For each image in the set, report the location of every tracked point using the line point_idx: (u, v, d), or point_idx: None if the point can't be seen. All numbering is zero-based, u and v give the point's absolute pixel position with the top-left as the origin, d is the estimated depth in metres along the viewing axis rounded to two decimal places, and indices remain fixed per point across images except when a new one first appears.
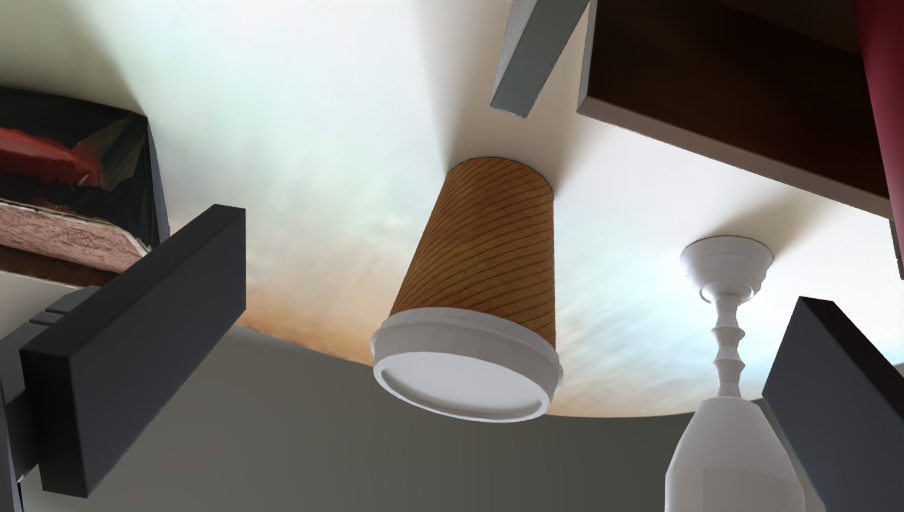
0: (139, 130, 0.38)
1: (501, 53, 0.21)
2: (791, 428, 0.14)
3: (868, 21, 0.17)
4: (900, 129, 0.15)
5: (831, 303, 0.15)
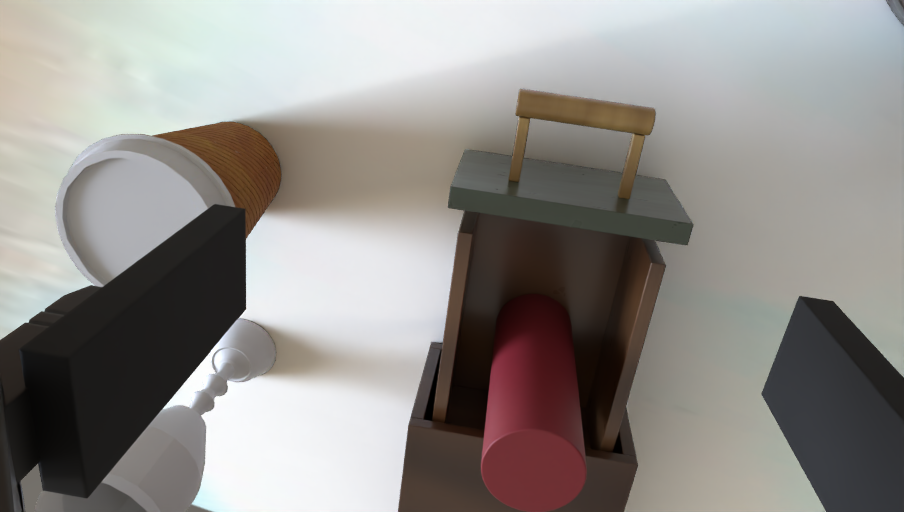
0: None
1: (458, 174, 0.36)
2: (791, 428, 0.14)
3: (524, 328, 0.39)
4: (529, 366, 0.35)
5: (831, 303, 0.15)
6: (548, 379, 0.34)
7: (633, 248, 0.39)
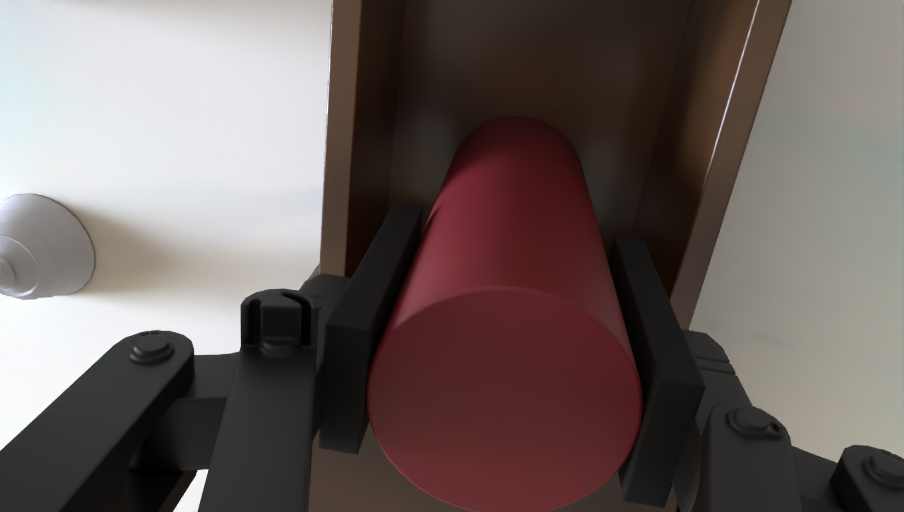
0: None
1: None
2: None
3: (494, 148, 0.20)
4: (499, 190, 0.16)
5: (640, 241, 0.17)
6: (540, 207, 0.15)
7: None
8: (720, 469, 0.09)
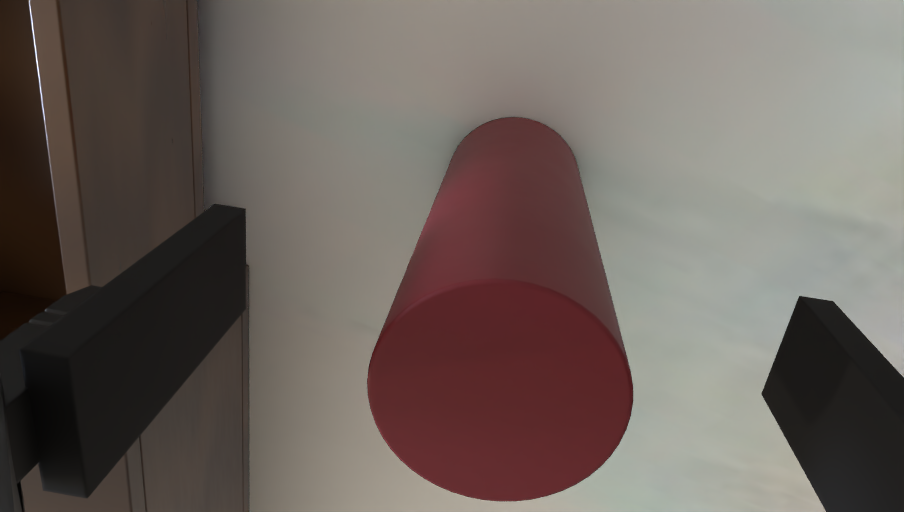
0: None
1: None
2: (791, 428, 0.14)
3: (491, 148, 0.20)
4: (496, 189, 0.16)
5: (831, 303, 0.15)
6: (535, 205, 0.15)
7: None
8: None
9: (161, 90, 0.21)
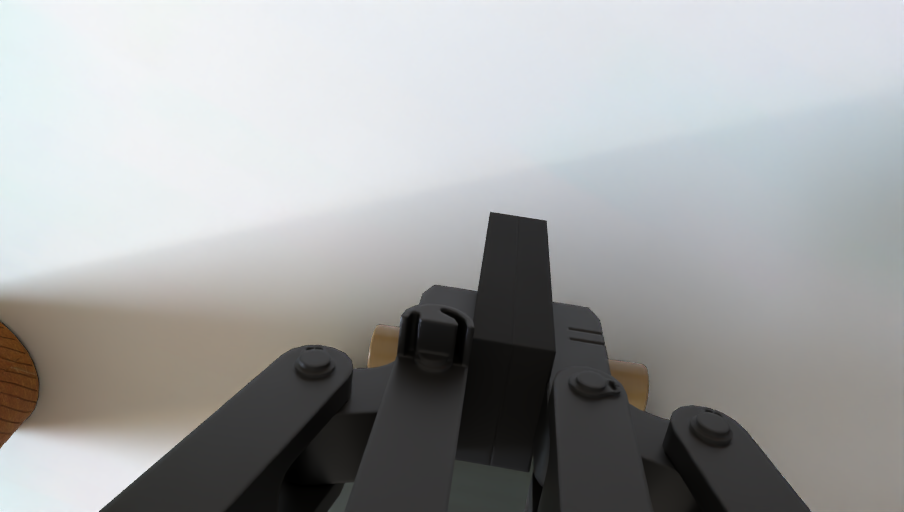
0: None
1: None
2: None
3: None
4: None
5: (543, 222, 0.17)
6: None
7: None
8: (566, 435, 0.10)
9: None
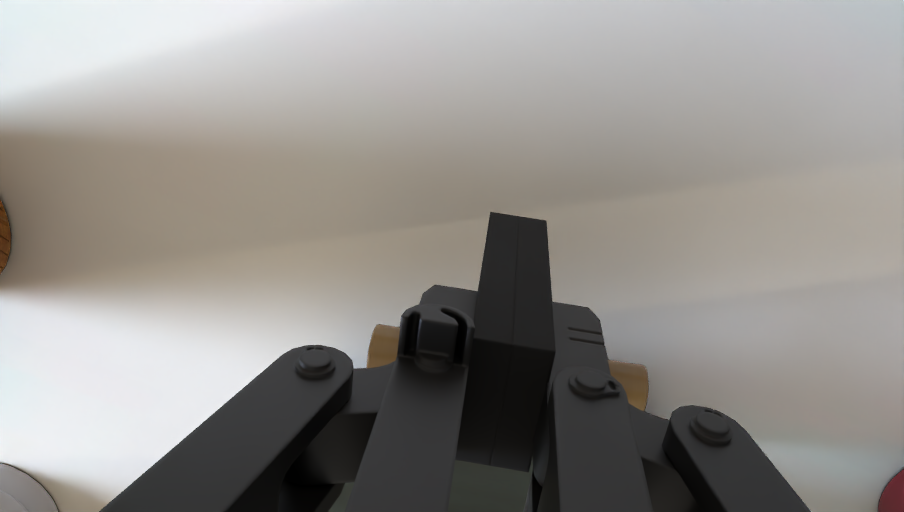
0: None
1: None
2: None
3: None
4: None
5: (543, 222, 0.17)
6: None
7: None
8: (567, 435, 0.10)
9: None
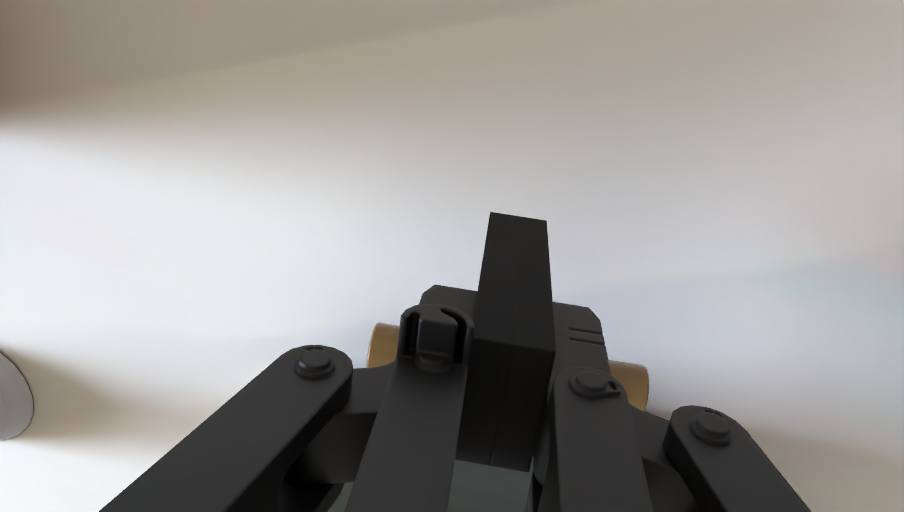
0: None
1: None
2: None
3: None
4: None
5: (543, 222, 0.17)
6: None
7: None
8: (567, 435, 0.10)
9: None
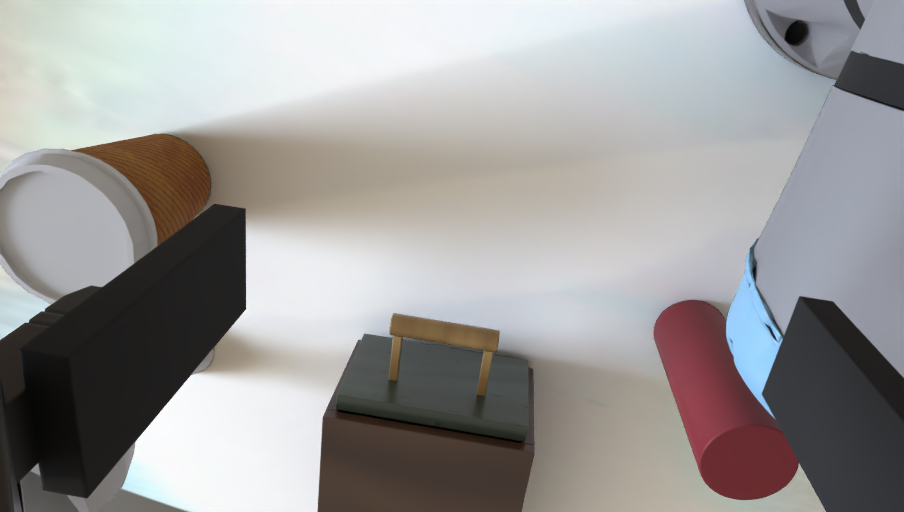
0: None
1: (348, 376, 0.44)
2: (791, 428, 0.14)
3: (700, 332, 0.42)
4: (723, 368, 0.38)
5: (831, 303, 0.15)
6: None
7: None
8: None
9: None
